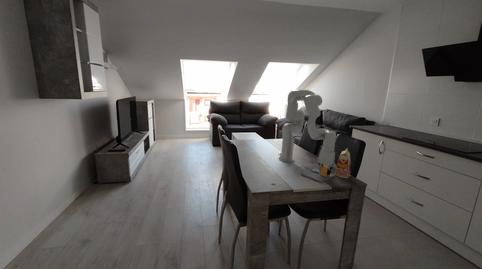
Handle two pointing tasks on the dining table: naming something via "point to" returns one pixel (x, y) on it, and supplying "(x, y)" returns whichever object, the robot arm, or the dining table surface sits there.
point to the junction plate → (316, 175)
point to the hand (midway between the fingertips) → (324, 173)
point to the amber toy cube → (324, 170)
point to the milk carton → (343, 165)
